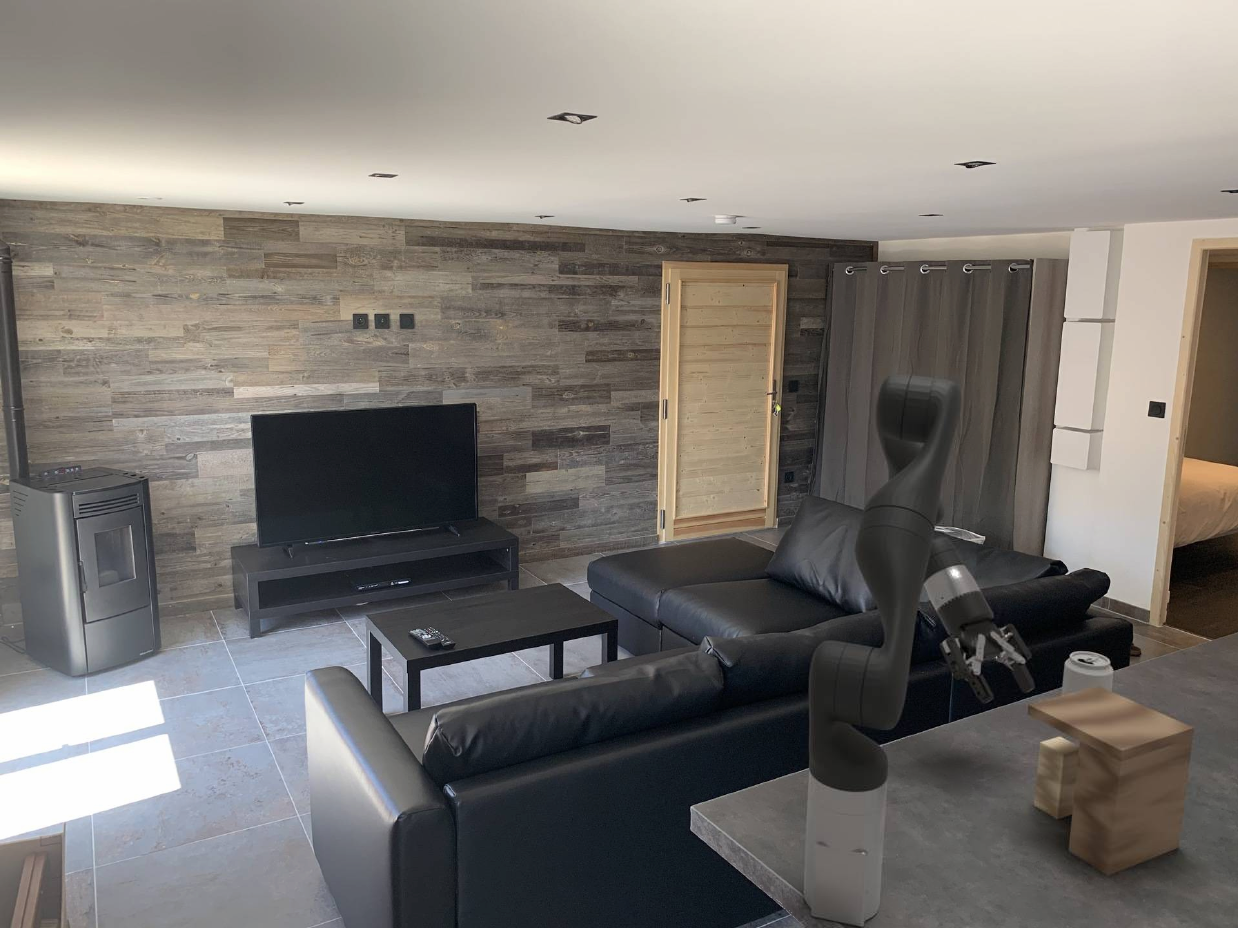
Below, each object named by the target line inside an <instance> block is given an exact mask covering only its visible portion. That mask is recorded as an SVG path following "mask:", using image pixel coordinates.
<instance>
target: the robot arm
mask: <svg viewBox="0 0 1238 928" xmlns="http://www.w3.org/2000/svg"><path fill="white" fill-rule="evenodd" d="M876 399H877V400H876V405H875V426H876V431H877V435H878V439H879V442H880V443H879V444H880V446H881V449H882V452H883V455H884V459H885V461H886V464H887V469H888V470H887V471H888V481H887V482H886V483H884V484H883V485H882V486H881V487H880V488H879V489H877V491H876V492H875V493H874V494H873V495H872V496H871V497H870V498H869V499H868V501H867V503H866V504H865V506H864V508H863V510H862V511H863V512H862V514H861V519H860V523H859V526H858V531H857V534H856V535H857V536H856V540H855V544H854V554H855V555H854V556H855V560H856V563H857V567H858V569H859V571H860V573H861V576H862V578H863V580H864V583H865V585H866V586H867V589H868V590H869V593H870V595H871V596H872V599H873V601H874V603H875V605H876V608H877V611H878V614H879V617H880V620H881V624H882V628H883V632H884V640H883V645H882V646H881V647H880V648H879V647H873V646H868V645H863V644H855V643H851V642H844V641H838V640H823V641H822V642H821V643H819V645H818V646H817V648H815V650H814V653H813V655H812V658H811V662H810V667H809V677H808V715H809V721H808V722H809V723H808V724H809V728H808V729H809V731H808V732H809V734H808V752H809V753H808V756H809V761H808V783H807V784H808V787H807V806H806V826H805V827H806V829H805V848H804V850H805V851H804V872H803V873H804V875H803V898H804V900H805V903H806V905H807V906H808V907H809V908H810V910H811V911H810V913H811V914H810V915H811V916H812V917H814V918H818V919H823V920H829V921H833V922H839V923H843V924H846V925H852V926H857V927H864V926H865V923H866V921H867V920H869V919H871V918H873V917H874V916H875V915H876V914H877V913H878V911H879V909H880V903H881V901H880V900H881V888H882V887H881V886H882V871H883V870H882V868H883V853H884V852H883V851H884V838H885V823H886V822H885V820H886V819H885V818H886V802H887V793H888V792H887V791H888V789H887V788H888V777H889V776H888V772H889V758H888V755H887V753H886V751H885V750H884V749H883V747H881V745H880V744H878V743H877V742H876V741H874V740H873V739H871V738H870V737H868V736H866V735H865V734H863V733H862V732H861V731H859V730H857V729H855V727H853V726H852V725H854V726H859V727H865V728H869V729H875V730H882V731H889V730H892V729H893V728H895V727H896V726H897V724H898V723H899V721H900V718H901V716H902V714H903V713H902V712H903V710H904V705H905V702H906V697H907V691H908V690H907V689H908V683H909V682H908V681H909V675H910V667H911V660H912V658H911V657H912V651H913V643H914V636H915V628H916V622H917V621H916V619H917V615H918V608H919V604H920V599H921V594H922V589H923V586H924V587H925V590H926V592H927V596H928V598H929V600H930V602H931V604H932V606H933V607H934V609H935V612H936V614H937V615H938V617H939V619H940V621H941V623H942V625H943V627H944V629H945V631H946V633H947V635H949V637H947V638H946V639H945V640H943V641H942V642H941V643H940V644H939V648H940V650H941V652H942V654H943V657H944V659H945V661H946V664H947V666H948V668H949V669H950V672H951V674H952V677H954V679H956V680H960V679H961V680H962V679H963V680H965V681H967V682H968V683H969V685H970V687H971V688H972V691H973V693H974V695H975V696H976V699H978V701H980V702H981V703H982V704H987V703H989V702H991V701H992V700H994V694H993V692H992V690H991V688H990V687H989V685H988V683H987V682H988V681H986V679H985V677H984V675H983V674H981V668H982V667H981V666H982V663H983V662H984V661H993V660H994V661H996V662H997V663H1002V664H1004V665H1005V666H1006V667H1008V668H1009V669H1010V670H1011V671H1010V672H1011V673H1012V676H1013V678H1014V680H1015V681H1016V683H1017V684H1018V686H1019V688H1020V690H1021V692H1022V693H1029V692H1030V691H1032V690H1034V689H1035V688H1036V686H1035V681H1034V679H1033V677H1032V675H1031V673H1030V671H1029V670H1028V668H1027V666H1026V662H1027V661H1028V660H1029V659H1031V658H1032V656H1033V655H1032V653H1031V652H1030V650H1029V648H1028V646H1027V645H1026V644H1025V642H1024V640H1023V638H1022V637H1021V635H1020V634H1019V632H1018V630H1017V629H1016V627H1015V625H1014V624H1012V623H1008V624H1007V625H1005V626H1003V627H1001V628H1000V627H997V625H996V624H995V622H994V613H993V611H992V608H991V607H990V605H989V603H988V602H987V600H986V599H985V596H984V594H983V592H982V590H981V589H980V587H979V585H978V583H977V582H976V580H975V578H974V577H973V575H972V574H971V572H970V571H969V570H968V568H967V567H966V565H965V563H964V561H963V560H962V559H961V557H960V554H959V553H958V551H957V549H956V547H955V546H954V544H953V543H952V541H951V540H950V539H949V538H948V537H945V536H935V531H936V526H937V525H939V524H940V523H941V522H942V520H944V517H945V507H944V505H943V502H942V500H941V498H940V497H941V491H942V486H943V481H944V476H945V473H946V468H947V465H948V461H949V457H950V453H951V450H952V446H953V442H954V439H955V436H956V431H957V429H958V428H957V427H958V424H959V418H960V414H961V408H962V393H961V388H960V386H959V385H958V384H957V383H956V382H954V381H952V380H949V379H945V378H937V377H932V376H931V377H930V376H929V377H928V376H923V375H914V374H913V375H912V374H902V373H901V374H890V375H888V376H887V377H886V378H884V380H883V381H882V383H881V385H880V387H879V391H878V395H877V398H876ZM919 443H920V444H919ZM921 444H923V445H922V446H921ZM1018 649H1019V650H1018ZM1002 650H1003V651H1002Z"/></svg>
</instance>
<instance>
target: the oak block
mask: <svg viewBox="0 0 1238 928" xmlns="http://www.w3.org/2000/svg"><path fill="white" fill-rule="evenodd" d="M1079 746H1080V745H1077V744H1075V743H1073V742H1071V741H1069V740H1067V739H1065V738H1063V737H1062V736H1056V737H1052V738H1051V739H1050V738H1049V739H1046V740H1043V741H1040V743H1039V752H1038V762H1037V773H1036V781H1035V782H1036V783H1035V793H1034V794H1035V795H1034V802H1033V803H1034V805H1033V806H1035V807H1036V808H1037V809H1039V810H1041V811H1043V812H1044V813H1046V814H1047V815H1049V816H1051V817H1052V818H1054V819H1056V820H1059V819H1062V818H1066V817H1068V816H1071V815H1072V813H1073V803H1074V794H1075V784H1076V775H1077V765H1078V756H1079Z"/></svg>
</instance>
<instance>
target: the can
mask: <svg viewBox="0 0 1238 928" xmlns="http://www.w3.org/2000/svg"><path fill="white" fill-rule="evenodd" d="M1113 680H1114V669H1113V667H1112V666H1111V661H1110V658H1108V657H1107V656H1104V655H1103V654H1099V653H1096V652H1093V651H1092V652H1091V651H1081V650H1080V651H1079V650H1078V651H1073V652H1072V653H1070V654H1069V658H1068V659H1066V661H1064V668H1063V678H1062V688H1061V696H1062V695H1065V694H1069V693H1073V692H1077V691H1080V690H1084V689H1088V688H1091V687H1095V686H1100V687H1102V688H1104V689H1106V690H1109V691H1111V692H1112V690H1113V689H1112V688H1113Z"/></svg>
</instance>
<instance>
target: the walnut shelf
mask: <svg viewBox="0 0 1238 928" xmlns="http://www.w3.org/2000/svg"><path fill="white" fill-rule="evenodd" d="M1027 706H1028V707H1027V715H1028V716H1029V717H1031V718H1034V719H1036V720H1038V721H1040V722H1041V723H1043V724H1045V725H1047V726H1049V727H1051V728H1053V729H1056V730H1057V731H1059V732H1061V733H1063V734H1065V735H1067V736H1070V738H1073V739H1075V740H1077V741H1079V745H1078V746H1079V756H1078V765H1077V775H1076V784H1075V794H1074V803H1073V813H1072V814H1071V815H1072V816H1071V824H1070V835H1069V843H1068V852H1070V853H1071V854H1073V855H1074V856H1076V857H1078V858H1079V859H1081V860H1083V861H1084V862H1086V863H1088V865H1090V866H1092V867H1093V868H1095V869H1097V870H1098V871H1100V872H1101V873H1103V874H1105V875H1106V876H1111V875H1114V874H1115V873H1119V872H1121V871H1123V870H1126V869H1128V868H1130V867H1131V868H1132V867H1133V866H1136V865H1139V864H1141V863H1143V862H1146V861H1149V860H1151V859H1153V858H1156V857H1159V856H1161V855H1163V854H1166V853H1169V852H1171V851H1174V850H1176V849H1179V847H1180V839H1181V833H1182V824H1183V818H1184V816H1183V815H1184V809H1185V803H1186V802H1185V801H1186V794H1187V785H1188V779H1189V771H1190V762H1191V755H1192V748H1193V747H1192V746H1193V741H1194V734H1195V733H1194V731H1195V727H1194V726H1191V725H1189V724H1186V723H1184V722H1182V721H1179V720H1178V719H1175V718H1173V717H1170V716H1168V715H1166V714H1164V713H1162V712H1159V711H1157V710H1154V709H1152V708H1149V707H1148V706H1145V705H1142V704H1141V703H1138V702H1136V701H1134V700H1132V699H1129V698H1128V697H1125V696H1122V695H1119V694H1118V693H1115V692H1113V691H1112V690H1111V691H1109V690H1106V689H1104V688H1102V687H1100V686H1095V687H1091V688H1088V689H1084V690H1080V691H1077V692H1073V693H1069V694H1065V695H1062V694H1061V695H1058V696H1055V697H1051V698H1047V699H1044V700H1040V701H1036V702H1033V703H1029V704H1028V705H1027Z"/></svg>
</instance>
